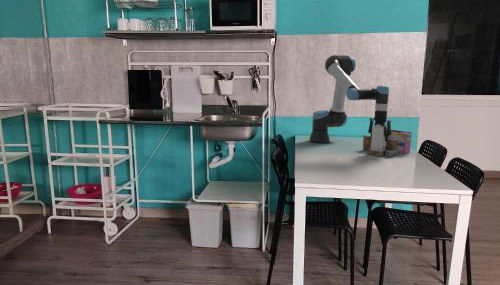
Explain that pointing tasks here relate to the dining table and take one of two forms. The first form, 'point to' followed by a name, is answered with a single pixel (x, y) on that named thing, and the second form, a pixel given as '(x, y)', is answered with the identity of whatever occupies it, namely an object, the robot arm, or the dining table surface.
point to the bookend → (390, 153)
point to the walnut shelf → (367, 146)
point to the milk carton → (378, 138)
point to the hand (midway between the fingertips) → (378, 145)
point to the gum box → (402, 140)
